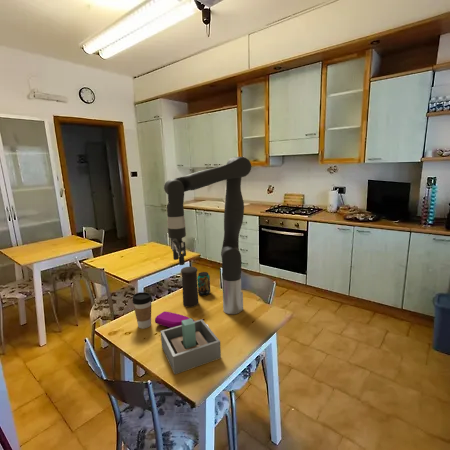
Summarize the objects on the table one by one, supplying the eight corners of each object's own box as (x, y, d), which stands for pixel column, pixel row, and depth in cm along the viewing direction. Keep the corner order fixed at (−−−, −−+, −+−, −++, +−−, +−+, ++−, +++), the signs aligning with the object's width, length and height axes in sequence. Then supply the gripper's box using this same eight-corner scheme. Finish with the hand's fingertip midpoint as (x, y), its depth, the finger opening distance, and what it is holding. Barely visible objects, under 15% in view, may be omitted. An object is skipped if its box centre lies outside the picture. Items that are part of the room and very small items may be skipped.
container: (201, 300, 152) (199, 265, 148) (195, 308, 144) (193, 271, 140) (186, 299, 154) (184, 264, 150) (180, 307, 146) (177, 270, 142)
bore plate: (198, 337, 117) (198, 330, 117) (210, 353, 107) (209, 346, 106) (170, 346, 112) (170, 339, 112) (180, 364, 102) (179, 356, 101)
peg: (193, 345, 112) (191, 318, 110) (196, 351, 108) (194, 323, 106) (183, 348, 110) (181, 320, 108) (186, 354, 107) (184, 325, 104)
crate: (202, 333, 121) (202, 319, 120) (220, 357, 106) (220, 341, 104) (161, 346, 114) (160, 330, 112) (174, 374, 98) (173, 356, 96)
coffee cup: (137, 320, 134) (134, 291, 131) (155, 319, 134) (152, 290, 131) (133, 330, 126) (129, 299, 123) (152, 329, 126) (149, 298, 123)
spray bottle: (164, 316, 137) (211, 327, 130) (152, 324, 126) (202, 337, 119) (165, 310, 137) (212, 321, 129) (152, 317, 126) (203, 330, 119)
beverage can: (203, 297, 156) (202, 277, 154) (195, 293, 161) (194, 273, 159) (212, 293, 161) (212, 273, 158) (205, 289, 166) (204, 270, 163)
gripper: (190, 228, 116) (192, 265, 119) (179, 222, 129) (182, 256, 132) (172, 230, 113) (175, 268, 116) (163, 224, 125) (166, 259, 129)
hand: (178, 262), depth 124 cm, fingers open, 8 cm apart
